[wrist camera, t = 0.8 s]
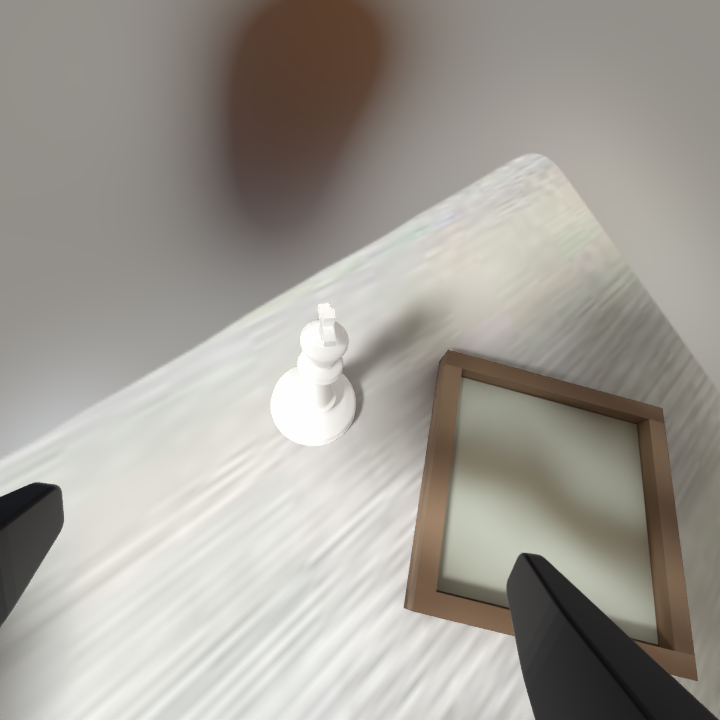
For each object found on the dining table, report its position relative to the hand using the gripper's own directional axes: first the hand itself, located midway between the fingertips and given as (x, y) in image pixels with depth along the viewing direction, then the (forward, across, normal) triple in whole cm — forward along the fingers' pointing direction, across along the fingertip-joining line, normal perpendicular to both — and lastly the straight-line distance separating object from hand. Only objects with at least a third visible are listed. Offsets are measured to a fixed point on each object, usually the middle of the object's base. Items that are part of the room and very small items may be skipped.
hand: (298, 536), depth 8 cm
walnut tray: (+13, -14, +8) cm, 20 cm away
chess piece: (+15, 0, +6) cm, 16 cm away
